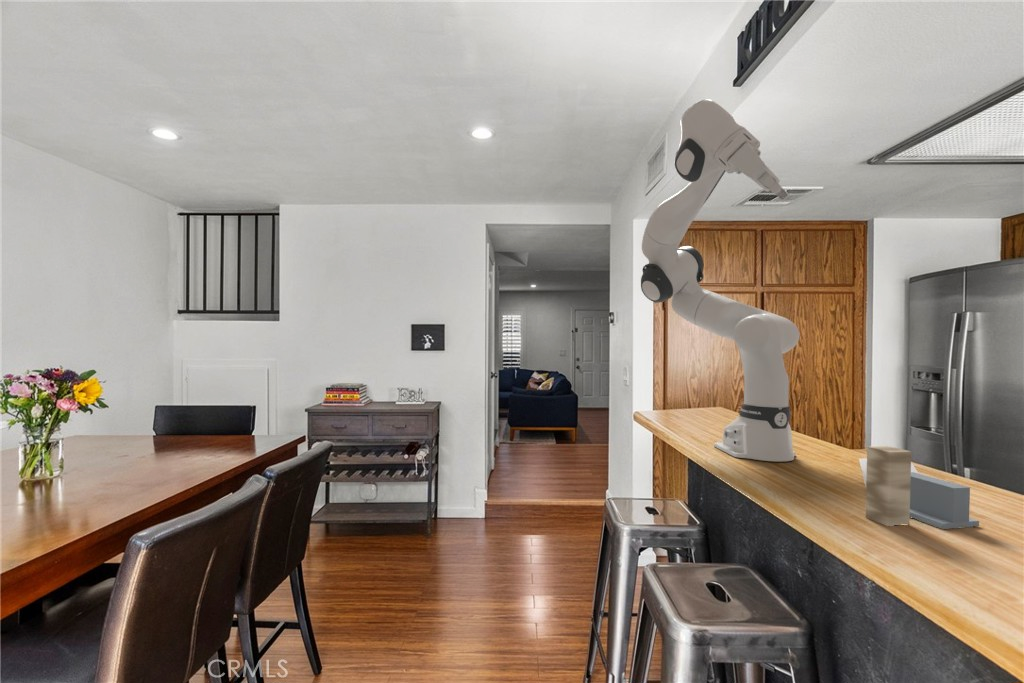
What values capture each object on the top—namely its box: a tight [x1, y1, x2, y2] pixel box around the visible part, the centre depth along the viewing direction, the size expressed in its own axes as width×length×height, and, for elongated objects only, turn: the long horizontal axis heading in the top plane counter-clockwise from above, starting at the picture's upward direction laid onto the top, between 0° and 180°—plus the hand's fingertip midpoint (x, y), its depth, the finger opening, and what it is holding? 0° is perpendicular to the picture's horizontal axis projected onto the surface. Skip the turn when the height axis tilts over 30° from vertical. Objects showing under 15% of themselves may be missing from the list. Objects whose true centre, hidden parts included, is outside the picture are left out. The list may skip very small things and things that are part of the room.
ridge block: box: [910, 472, 980, 530], centre depth 94 cm, size 10×8×7 cm
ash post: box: [865, 445, 912, 527], centre depth 92 cm, size 4×4×13 cm
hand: (782, 194), depth 112 cm, fingers open, 8 cm apart
